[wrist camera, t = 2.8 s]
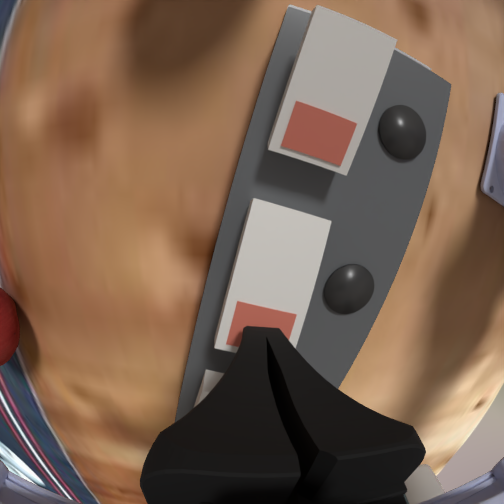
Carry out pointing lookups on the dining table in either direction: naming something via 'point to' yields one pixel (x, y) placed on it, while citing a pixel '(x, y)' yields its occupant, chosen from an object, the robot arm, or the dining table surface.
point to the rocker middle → (272, 273)
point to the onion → (8, 327)
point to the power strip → (331, 210)
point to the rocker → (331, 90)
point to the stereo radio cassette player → (422, 485)
